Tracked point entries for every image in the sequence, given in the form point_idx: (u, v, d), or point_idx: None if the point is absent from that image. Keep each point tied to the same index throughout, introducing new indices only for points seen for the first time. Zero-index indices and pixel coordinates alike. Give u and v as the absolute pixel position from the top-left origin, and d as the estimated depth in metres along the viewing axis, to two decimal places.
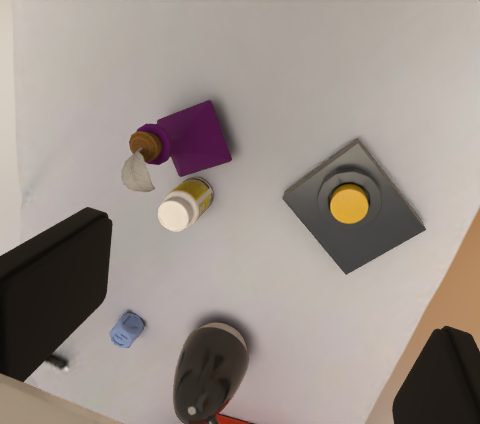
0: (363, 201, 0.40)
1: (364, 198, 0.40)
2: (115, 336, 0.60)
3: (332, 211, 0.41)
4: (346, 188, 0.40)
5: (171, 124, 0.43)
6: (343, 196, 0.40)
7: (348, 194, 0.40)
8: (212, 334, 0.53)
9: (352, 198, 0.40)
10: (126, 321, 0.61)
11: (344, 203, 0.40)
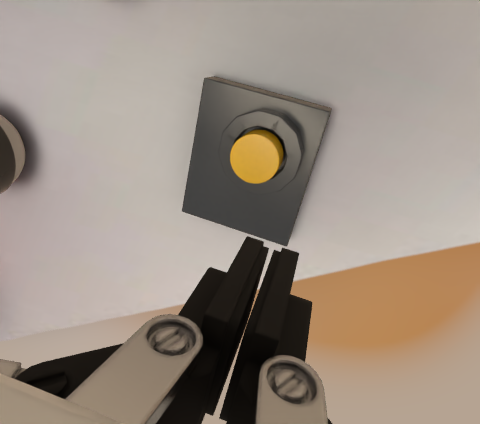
0: (271, 169, 0.29)
1: (275, 168, 0.29)
2: None
3: (235, 146, 0.29)
4: (272, 140, 0.29)
5: None
6: (260, 144, 0.29)
7: (267, 148, 0.29)
8: None
9: (266, 155, 0.29)
10: None
11: (254, 151, 0.29)
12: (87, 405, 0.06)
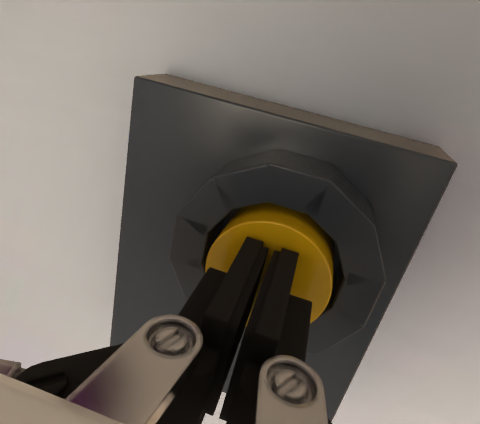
0: None
1: (322, 304, 0.11)
2: None
3: (217, 246, 0.12)
4: (313, 234, 0.11)
5: None
6: (284, 247, 0.11)
7: (301, 256, 0.11)
8: None
9: (297, 274, 0.11)
10: None
11: (265, 263, 0.11)
12: (87, 405, 0.06)
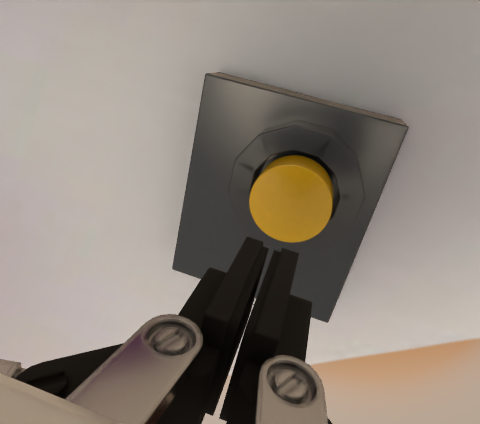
0: (318, 221, 0.18)
1: (325, 219, 0.18)
2: None
3: (258, 183, 0.18)
4: (320, 174, 0.17)
5: None
6: (302, 181, 0.17)
7: (312, 187, 0.17)
8: None
9: (310, 199, 0.17)
10: None
11: (289, 193, 0.18)
12: (87, 405, 0.06)
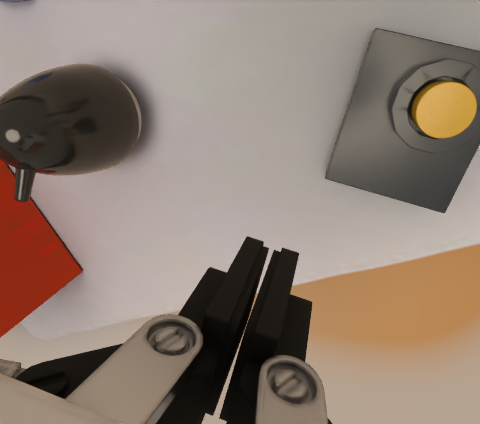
0: (465, 121, 0.27)
1: (470, 119, 0.27)
2: None
3: (425, 96, 0.27)
4: (468, 89, 0.27)
5: None
6: (457, 93, 0.27)
7: (464, 97, 0.26)
8: (117, 89, 0.34)
9: (461, 106, 0.27)
10: None
11: (447, 102, 0.27)
12: (87, 405, 0.06)
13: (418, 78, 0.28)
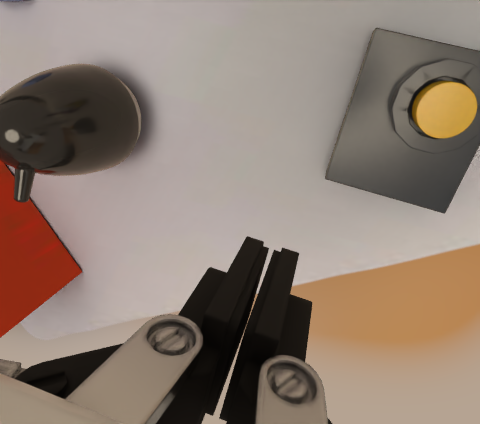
0: (465, 121, 0.27)
1: (471, 119, 0.27)
2: None
3: (425, 96, 0.27)
4: (469, 89, 0.27)
5: None
6: (457, 93, 0.26)
7: (465, 97, 0.26)
8: (117, 89, 0.34)
9: (461, 106, 0.27)
10: None
11: (447, 102, 0.27)
12: (87, 405, 0.06)
13: (418, 78, 0.28)
